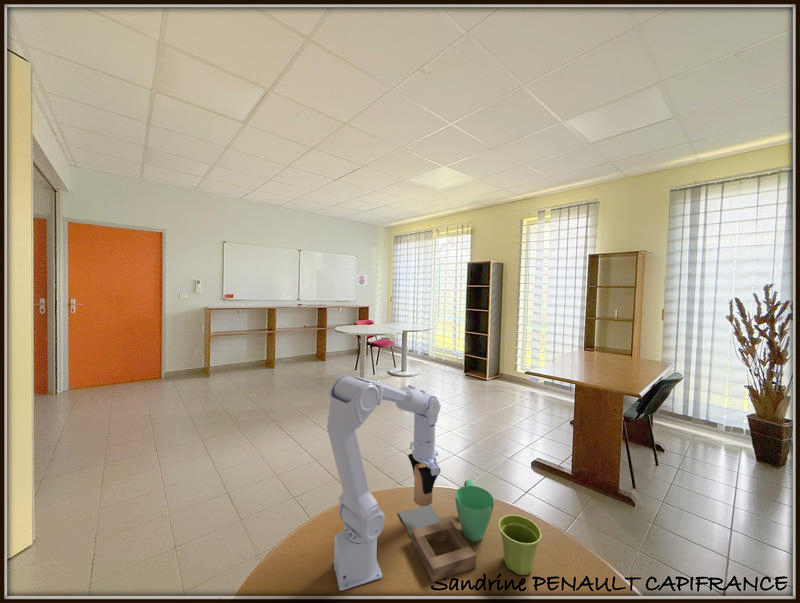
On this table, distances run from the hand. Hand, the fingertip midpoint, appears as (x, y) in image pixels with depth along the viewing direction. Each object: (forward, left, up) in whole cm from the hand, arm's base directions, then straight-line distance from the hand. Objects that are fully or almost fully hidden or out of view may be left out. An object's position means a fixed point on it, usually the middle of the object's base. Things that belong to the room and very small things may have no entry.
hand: (423, 486), depth 88 cm
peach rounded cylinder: (0, 0, -4) cm, 4 cm away
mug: (+12, -6, -10) cm, 17 cm away
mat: (0, 0, -10) cm, 10 cm away
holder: (0, -11, -10) cm, 15 cm away
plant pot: (+15, -20, -10) cm, 27 cm away
